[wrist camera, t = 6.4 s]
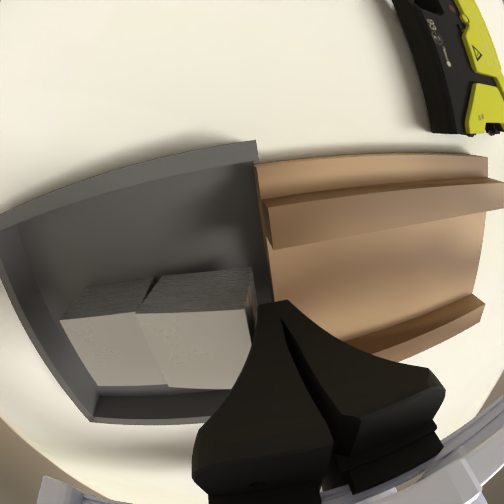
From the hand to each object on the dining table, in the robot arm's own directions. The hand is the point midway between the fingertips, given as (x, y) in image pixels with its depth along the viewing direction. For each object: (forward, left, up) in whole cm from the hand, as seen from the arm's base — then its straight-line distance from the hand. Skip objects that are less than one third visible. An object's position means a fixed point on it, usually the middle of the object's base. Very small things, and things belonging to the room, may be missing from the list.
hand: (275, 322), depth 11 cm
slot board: (0, -7, -3) cm, 8 cm away
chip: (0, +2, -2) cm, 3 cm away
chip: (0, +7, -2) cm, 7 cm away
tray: (0, +6, -3) cm, 7 cm away
